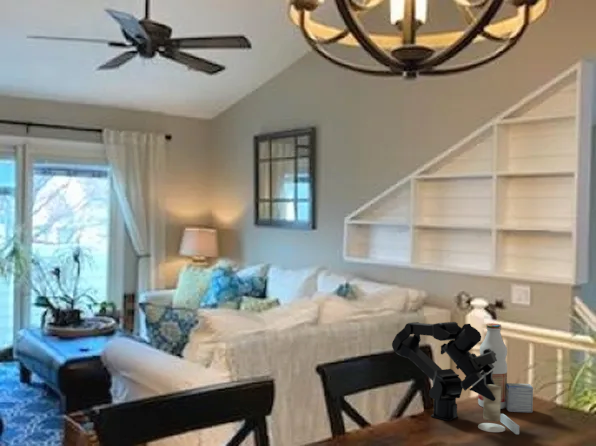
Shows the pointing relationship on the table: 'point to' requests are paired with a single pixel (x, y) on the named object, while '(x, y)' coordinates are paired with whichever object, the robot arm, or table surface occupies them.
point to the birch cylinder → (492, 404)
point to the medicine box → (519, 397)
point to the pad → (491, 427)
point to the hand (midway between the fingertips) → (496, 398)
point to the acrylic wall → (509, 424)
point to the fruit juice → (500, 366)
